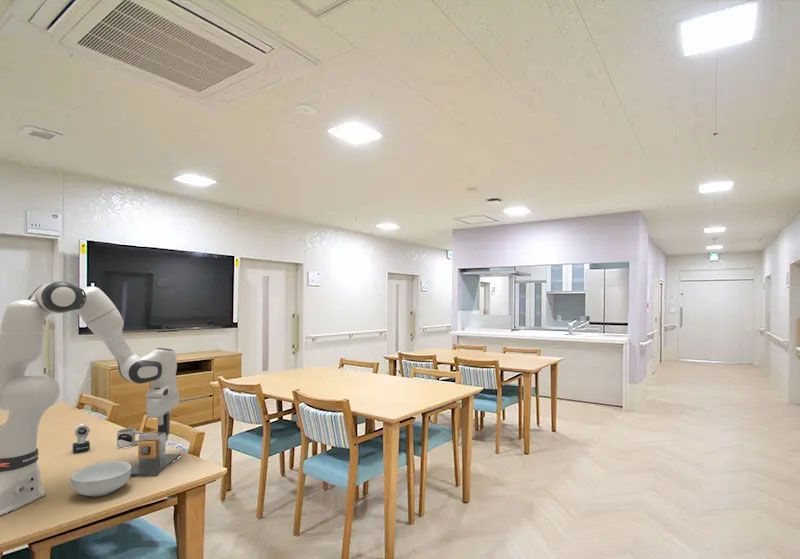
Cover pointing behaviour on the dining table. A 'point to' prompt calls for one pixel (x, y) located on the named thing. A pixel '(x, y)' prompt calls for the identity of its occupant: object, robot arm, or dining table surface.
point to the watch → (81, 439)
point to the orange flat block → (152, 451)
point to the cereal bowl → (100, 478)
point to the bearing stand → (153, 464)
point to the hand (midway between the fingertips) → (163, 423)
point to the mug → (127, 437)
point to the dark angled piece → (160, 429)
